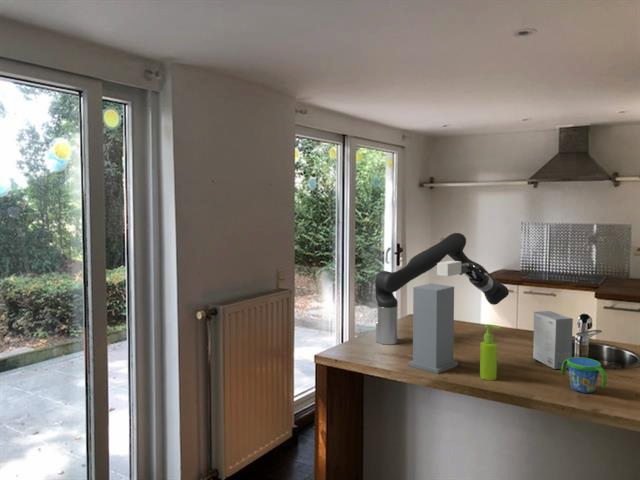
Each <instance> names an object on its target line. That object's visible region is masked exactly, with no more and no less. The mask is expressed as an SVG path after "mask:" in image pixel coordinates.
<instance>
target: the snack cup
mask: <svg viewBox="0 0 640 480" xmlns="http://www.w3.org/2000/svg"><path fill="white" fill-rule="evenodd" d="M566 364H568V366H569V368H568V373H567V368H566ZM560 370H561V371H560V372H561V374H562V375H566V374H569V382H570V388H571V389H572V390H573V391H576V392H580V393H582V394H584V393H585V394H586V393H587V394H591V393H594V392H595V390H596V388H597V387H596V386H597V383H598V378H599V373H600V375H601V377H602V381H601V385H600V387H601V388H604V387H606V385H607V384H608V383H607V382H608V381H607V379H608V378H607V374H606V371H605V370H604V368H603V367H602V363H601V362H600V361H598V360H595V359H594V358H588V357H582V356H579V357H578V356H574V357H573V356H572V358H569V359H567V360H565V361H564V362H563V364H562V368H561V369H560Z"/></svg>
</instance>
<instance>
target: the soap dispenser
mask: <svg viewBox="0 0 640 480" xmlns="http://www.w3.org/2000/svg"><path fill="white" fill-rule="evenodd" d="M484 328H486V331H485V333H484V334H483V341H481V342H480V344H479V346H480V348H479V349H480V350H479V351H480V355H479V359H480V360H479V367H480V368H479V378H480V379H482V380H484V381H485V380H486V381H494V380H495V381H496V380H497V366H498V365H497V363H498V362H497V361H498V360H497V358H498V343H497V342H494V335H495V334H494V333H492V329H496V330H499V329H501V326H499V325H496V324H495V325H494V324H485V325H484Z"/></svg>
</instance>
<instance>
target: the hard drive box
mask: <svg viewBox="0 0 640 480" xmlns="http://www.w3.org/2000/svg"><path fill="white" fill-rule="evenodd" d="M573 319H574V318H571V317H569V316H565V315H563V314H560V313H557V312H553V311H549V310H543V311H533V341H532V342H533V343H532V344H533V346H532V347H533V348H532V349H533V350H532V351H533V352H532V357H533V359H535V360H536V361H537V362H540V363H542V364H544V365H545V366H547V367H549V368H551V369H553V370H558V369H559V370H561V368H562V364H563V362H564V361H565V360H567V359H569V358H572V357H573V355H572V354H573V326H574V325H573V323H574V320H573ZM566 369H569V366H568V364H566Z"/></svg>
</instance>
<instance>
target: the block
mask: <svg viewBox="0 0 640 480" xmlns="http://www.w3.org/2000/svg"><path fill="white" fill-rule="evenodd" d="M467 264H468V263H463V264H461V262H460V261H455V260H447V261H440V262H439V263H437V265H436V276H442V277H452V276H456V275H459V274H461V273H465V272H470V270H469V269H468V268H467ZM470 264H472V263H470ZM472 265H473V266H474V264H472Z"/></svg>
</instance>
